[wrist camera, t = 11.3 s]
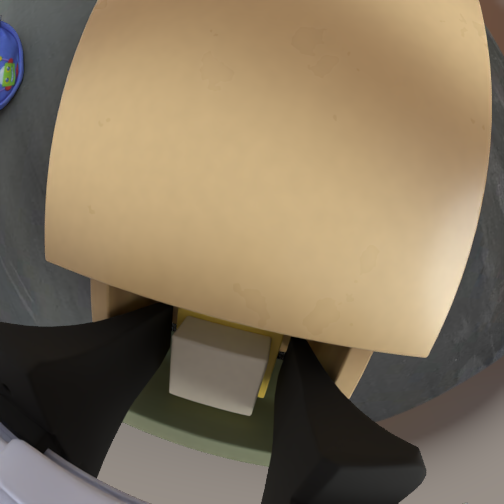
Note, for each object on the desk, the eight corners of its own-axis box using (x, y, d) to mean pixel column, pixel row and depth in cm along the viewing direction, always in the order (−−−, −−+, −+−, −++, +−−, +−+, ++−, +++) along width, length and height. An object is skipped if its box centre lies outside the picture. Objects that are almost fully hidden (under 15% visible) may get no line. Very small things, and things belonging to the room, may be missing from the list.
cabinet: (362, 267, 14) (427, 359, 6) (156, 220, 15) (44, 261, 7) (402, 41, 11) (467, -38, 2) (207, 6, 11) (150, -82, 3)
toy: (270, 354, 14) (259, 425, 9) (196, 335, 14) (158, 397, 9) (292, 277, 13) (290, 333, 8) (207, 257, 13) (161, 299, 8)
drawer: (295, 421, 16) (291, 504, 10) (150, 383, 17) (105, 450, 11) (381, 166, 12) (455, 158, 5) (176, 125, 13) (93, 92, 6)
